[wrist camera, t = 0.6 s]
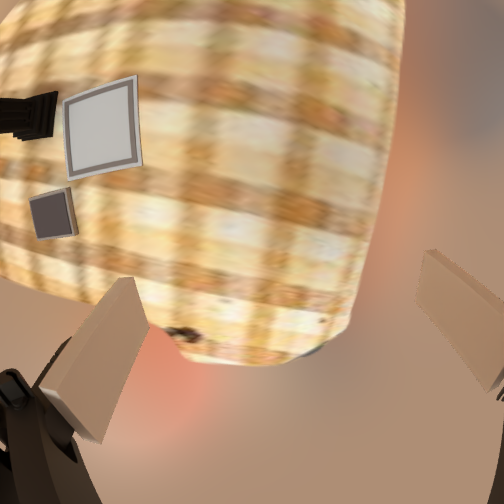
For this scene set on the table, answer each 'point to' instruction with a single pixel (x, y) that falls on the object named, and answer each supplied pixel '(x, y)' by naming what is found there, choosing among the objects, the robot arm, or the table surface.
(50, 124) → the chess piece
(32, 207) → the ink pad
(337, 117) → the table surface
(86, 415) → the robot arm
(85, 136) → the print sheet
